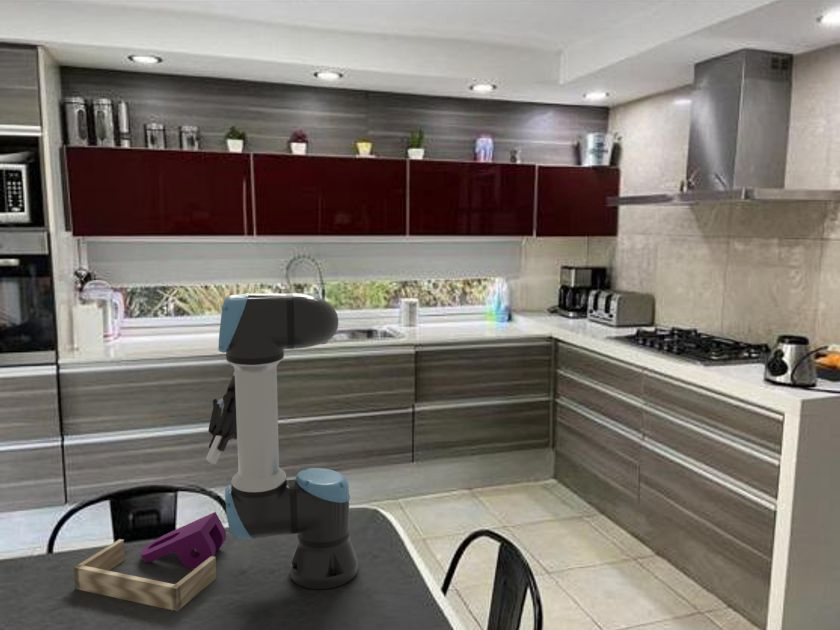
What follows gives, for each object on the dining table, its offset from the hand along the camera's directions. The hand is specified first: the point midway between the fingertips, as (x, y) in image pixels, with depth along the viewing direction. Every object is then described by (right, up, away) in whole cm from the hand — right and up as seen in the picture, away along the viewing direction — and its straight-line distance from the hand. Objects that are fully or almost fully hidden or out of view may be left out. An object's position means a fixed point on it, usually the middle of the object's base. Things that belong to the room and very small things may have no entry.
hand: (210, 461), depth 158 cm
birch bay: (-8, -23, -18) cm, 30 cm away
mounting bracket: (-5, -22, -7) cm, 23 cm away
